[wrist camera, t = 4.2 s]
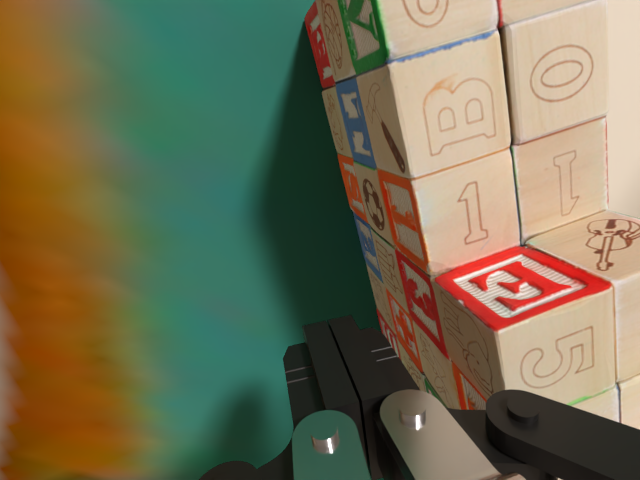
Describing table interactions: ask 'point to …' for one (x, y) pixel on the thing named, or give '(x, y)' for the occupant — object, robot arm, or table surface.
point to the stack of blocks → (487, 194)
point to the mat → (624, 107)
